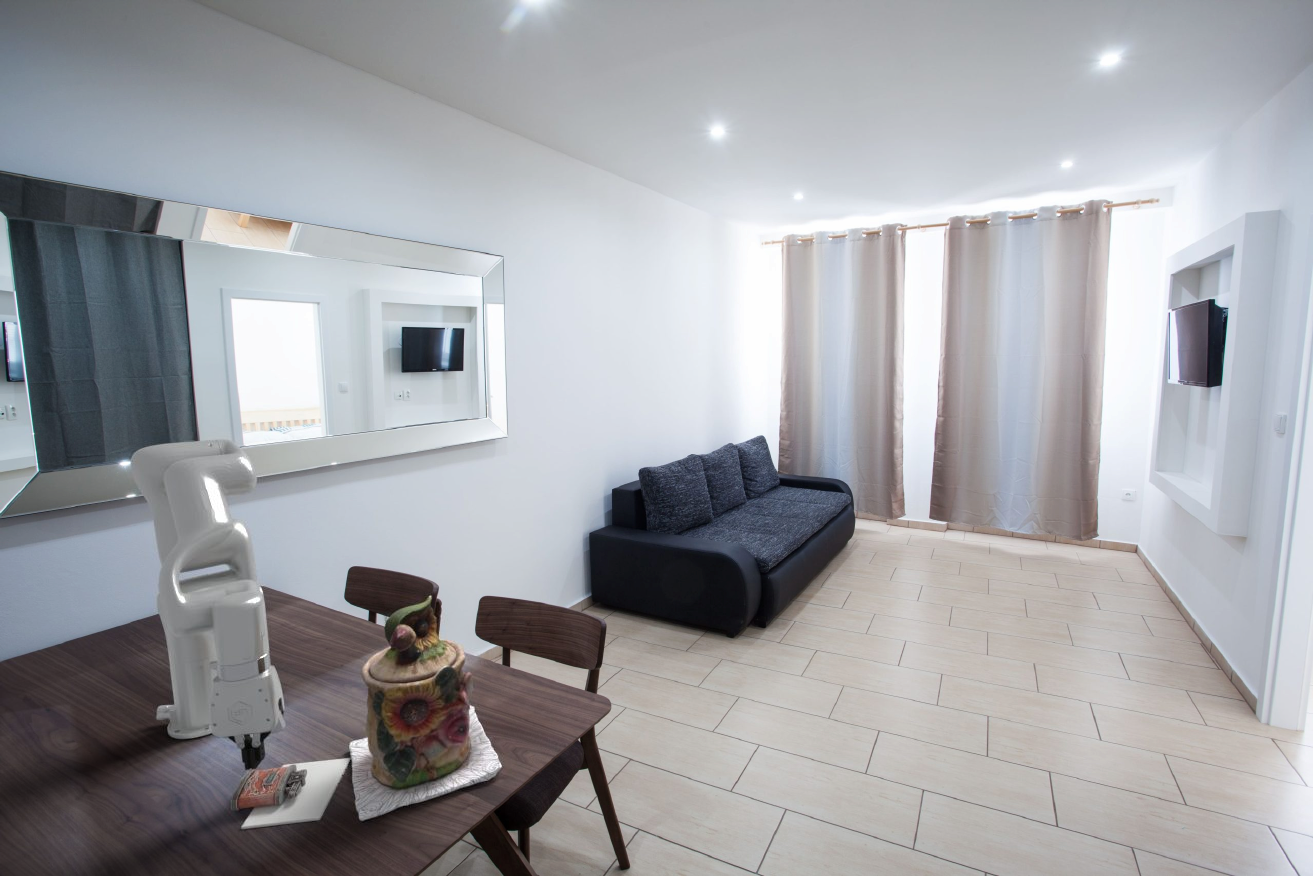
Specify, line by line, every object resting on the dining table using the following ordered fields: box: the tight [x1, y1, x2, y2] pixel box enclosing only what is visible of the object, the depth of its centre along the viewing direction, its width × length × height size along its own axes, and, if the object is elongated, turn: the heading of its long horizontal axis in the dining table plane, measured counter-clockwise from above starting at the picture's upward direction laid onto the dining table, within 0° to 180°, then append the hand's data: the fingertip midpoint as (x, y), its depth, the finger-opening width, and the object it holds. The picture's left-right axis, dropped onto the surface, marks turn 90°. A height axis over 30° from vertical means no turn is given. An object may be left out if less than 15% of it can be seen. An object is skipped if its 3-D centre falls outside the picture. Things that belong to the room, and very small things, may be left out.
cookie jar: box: [348, 595, 503, 822], centre depth 117 cm, size 25×25×32 cm
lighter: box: [230, 763, 307, 812], centre depth 110 cm, size 8×3×10 cm
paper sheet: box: [240, 757, 352, 830], centre depth 111 cm, size 12×16×1 cm
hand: (254, 764), depth 109 cm, fingers closed
